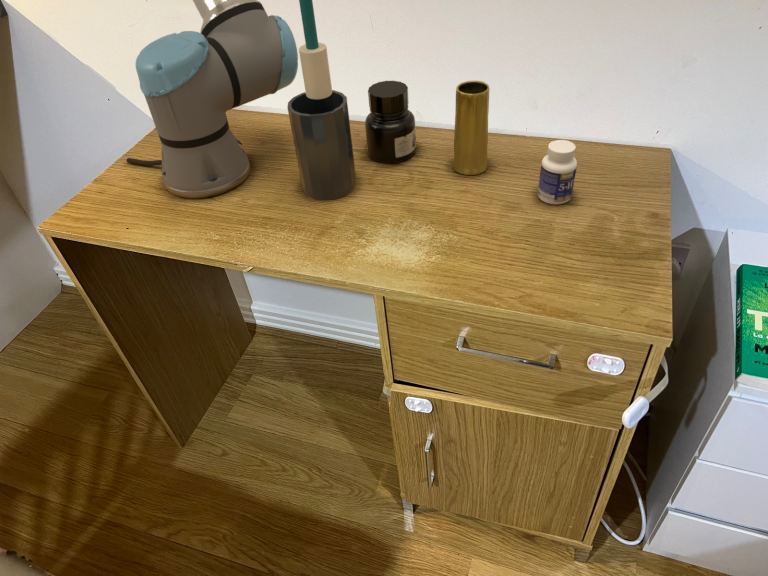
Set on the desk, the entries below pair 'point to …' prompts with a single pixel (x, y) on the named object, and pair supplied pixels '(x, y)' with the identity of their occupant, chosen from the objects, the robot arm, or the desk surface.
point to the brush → (313, 57)
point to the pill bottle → (557, 173)
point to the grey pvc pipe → (323, 145)
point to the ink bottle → (390, 123)
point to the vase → (471, 128)
